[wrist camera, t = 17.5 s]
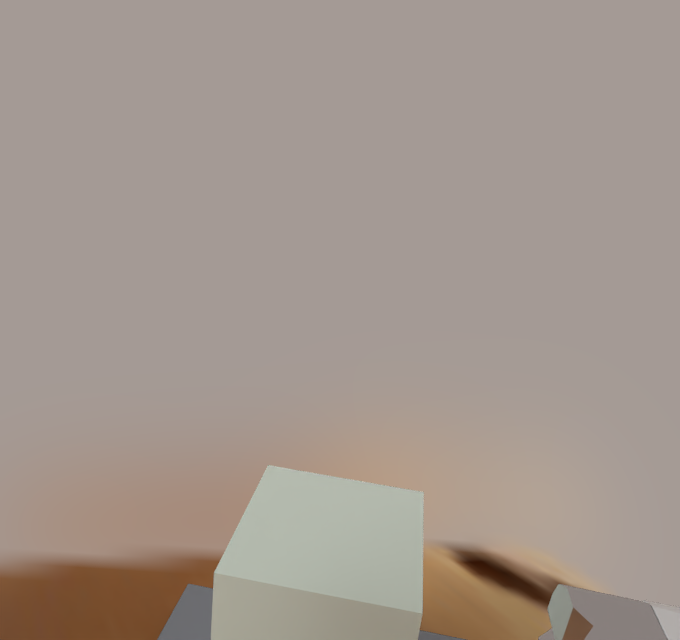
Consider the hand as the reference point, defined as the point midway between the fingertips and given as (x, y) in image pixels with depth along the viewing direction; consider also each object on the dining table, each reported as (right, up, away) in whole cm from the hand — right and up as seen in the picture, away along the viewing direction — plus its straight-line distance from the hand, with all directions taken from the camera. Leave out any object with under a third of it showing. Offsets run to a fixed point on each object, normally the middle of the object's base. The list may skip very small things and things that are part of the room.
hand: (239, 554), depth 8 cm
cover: (0, -14, +15) cm, 20 cm away
